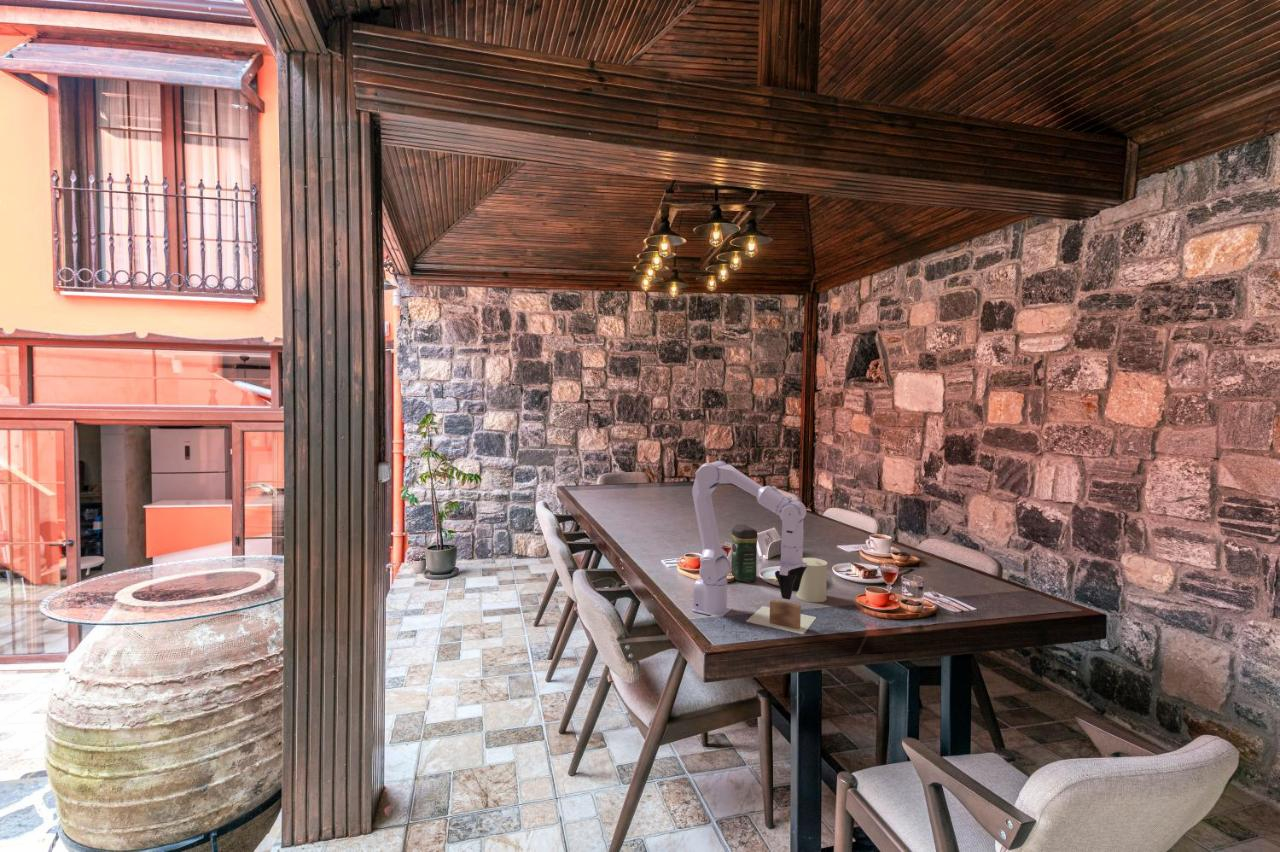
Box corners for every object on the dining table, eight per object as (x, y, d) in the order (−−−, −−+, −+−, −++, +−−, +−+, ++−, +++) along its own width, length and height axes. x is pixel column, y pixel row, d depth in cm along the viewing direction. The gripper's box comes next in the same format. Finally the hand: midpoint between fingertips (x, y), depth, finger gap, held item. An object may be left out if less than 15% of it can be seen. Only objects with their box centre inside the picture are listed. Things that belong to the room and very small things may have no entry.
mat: (745, 623, 159) (745, 621, 159) (762, 607, 171) (762, 605, 171) (803, 636, 151) (803, 634, 151) (816, 619, 163) (816, 617, 163)
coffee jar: (759, 582, 195) (761, 528, 194) (737, 583, 194) (738, 529, 193) (749, 573, 204) (750, 522, 204) (728, 574, 203) (729, 523, 202)
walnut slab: (769, 622, 158) (770, 601, 158) (771, 620, 160) (772, 599, 160) (798, 629, 154) (798, 607, 154) (800, 626, 156) (800, 605, 156)
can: (812, 604, 175) (813, 565, 174) (790, 595, 183) (791, 558, 182) (833, 599, 179) (834, 561, 179) (810, 590, 187) (811, 554, 187)
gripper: (799, 553, 147) (797, 605, 148) (813, 542, 159) (812, 589, 160) (772, 549, 151) (770, 600, 151) (788, 538, 163) (787, 585, 164)
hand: (790, 594), depth 156 cm, fingers open, 7 cm apart
